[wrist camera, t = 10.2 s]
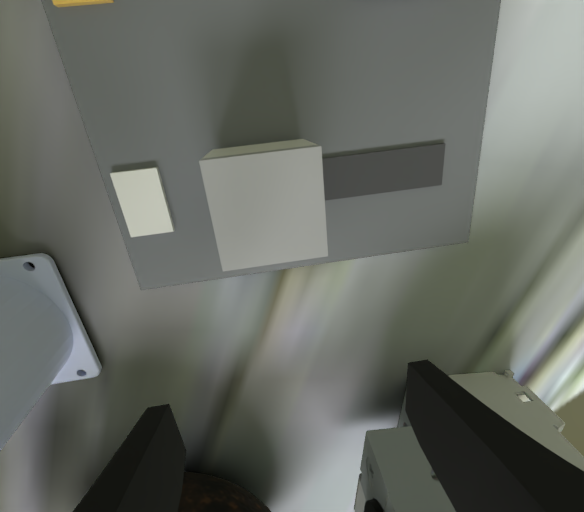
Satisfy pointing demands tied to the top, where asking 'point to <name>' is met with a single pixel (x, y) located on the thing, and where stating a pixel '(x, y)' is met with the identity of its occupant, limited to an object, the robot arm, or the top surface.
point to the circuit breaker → (414, 465)
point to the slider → (266, 203)
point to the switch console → (282, 114)
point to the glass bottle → (216, 495)
